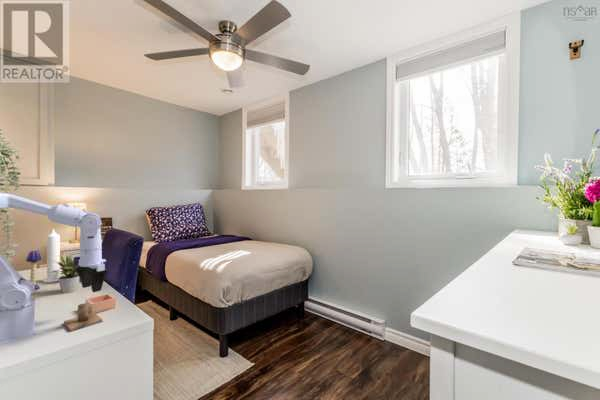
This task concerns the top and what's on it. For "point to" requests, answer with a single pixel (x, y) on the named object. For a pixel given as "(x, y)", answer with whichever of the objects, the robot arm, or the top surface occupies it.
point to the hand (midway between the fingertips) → (91, 289)
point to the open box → (100, 303)
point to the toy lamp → (33, 265)
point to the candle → (53, 257)
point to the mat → (77, 329)
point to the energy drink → (76, 261)
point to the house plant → (68, 275)
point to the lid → (82, 318)
